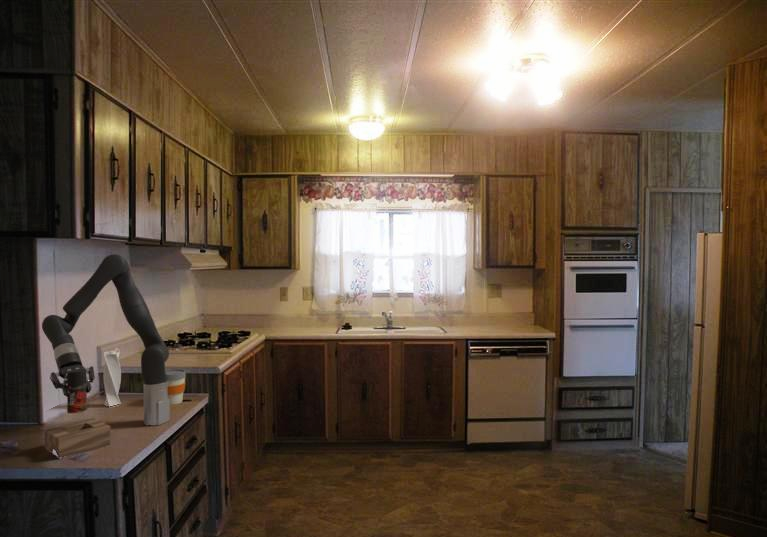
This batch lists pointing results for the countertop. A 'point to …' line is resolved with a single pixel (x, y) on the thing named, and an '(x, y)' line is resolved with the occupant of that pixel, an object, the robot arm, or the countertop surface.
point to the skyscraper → (112, 377)
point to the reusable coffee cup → (175, 385)
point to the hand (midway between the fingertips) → (78, 393)
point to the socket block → (77, 437)
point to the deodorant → (77, 391)
